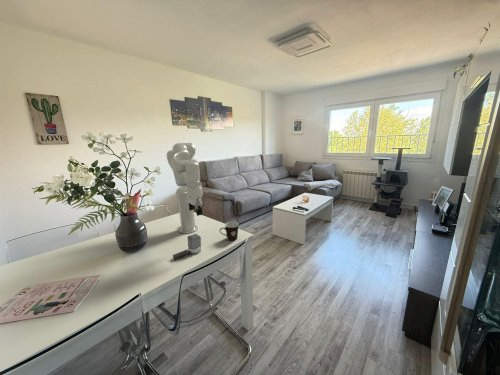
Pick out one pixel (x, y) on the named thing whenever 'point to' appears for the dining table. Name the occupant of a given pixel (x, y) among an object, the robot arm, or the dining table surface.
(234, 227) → the coffee mug
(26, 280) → the dining table surface
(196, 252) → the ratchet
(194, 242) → the socket
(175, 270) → the dining table surface
